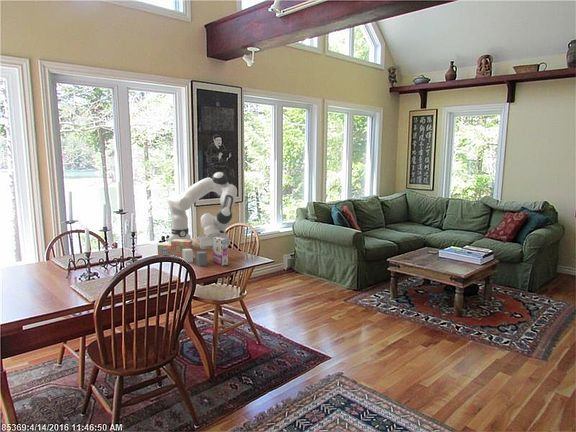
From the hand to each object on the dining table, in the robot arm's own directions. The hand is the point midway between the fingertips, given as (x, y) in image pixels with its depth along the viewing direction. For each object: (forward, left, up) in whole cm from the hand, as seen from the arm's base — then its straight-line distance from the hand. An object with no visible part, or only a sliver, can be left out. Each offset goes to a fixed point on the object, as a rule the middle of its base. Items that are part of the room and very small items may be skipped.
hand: (218, 252), depth 261 cm
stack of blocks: (-21, -21, -6) cm, 31 cm away
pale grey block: (-9, -17, -6) cm, 20 cm away
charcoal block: (+2, -12, -6) cm, 14 cm away
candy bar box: (+6, -1, -6) cm, 9 cm away
